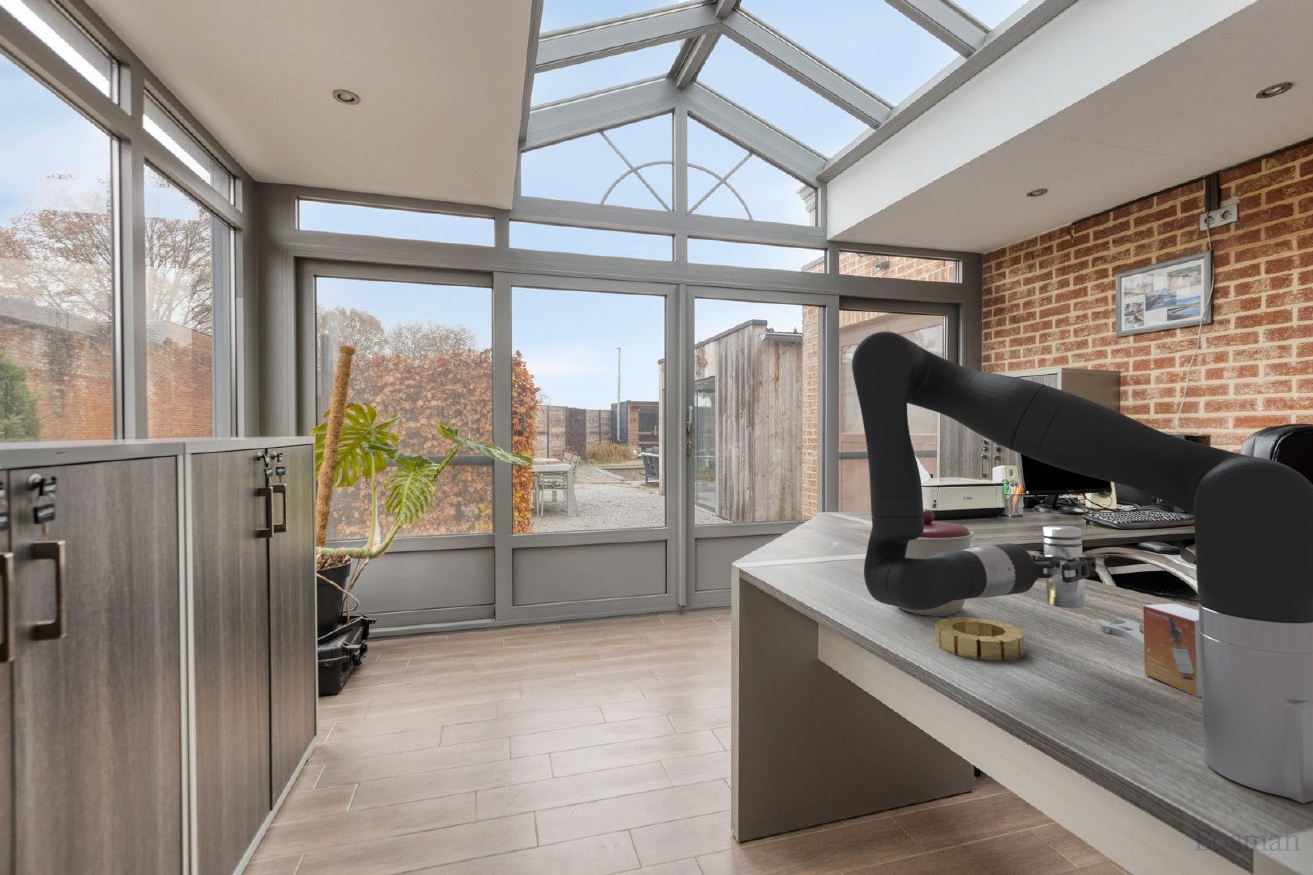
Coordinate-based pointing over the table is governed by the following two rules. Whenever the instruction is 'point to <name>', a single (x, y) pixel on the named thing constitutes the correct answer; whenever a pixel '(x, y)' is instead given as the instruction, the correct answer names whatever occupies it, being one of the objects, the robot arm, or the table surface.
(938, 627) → the ring
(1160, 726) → the table surface
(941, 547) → the canister
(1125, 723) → the table surface
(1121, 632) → the adjustable wrench
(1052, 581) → the spice jar
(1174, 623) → the small box
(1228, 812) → the table surface
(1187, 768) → the table surface
